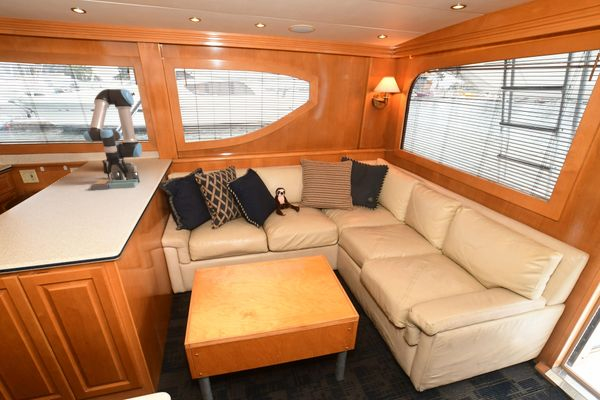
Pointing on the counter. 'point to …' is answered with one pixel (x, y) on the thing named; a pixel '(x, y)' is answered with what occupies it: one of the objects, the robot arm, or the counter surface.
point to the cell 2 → (135, 175)
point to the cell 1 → (117, 175)
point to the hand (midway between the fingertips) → (118, 181)
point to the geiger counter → (130, 167)
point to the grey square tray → (101, 186)
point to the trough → (123, 184)
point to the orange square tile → (101, 182)
